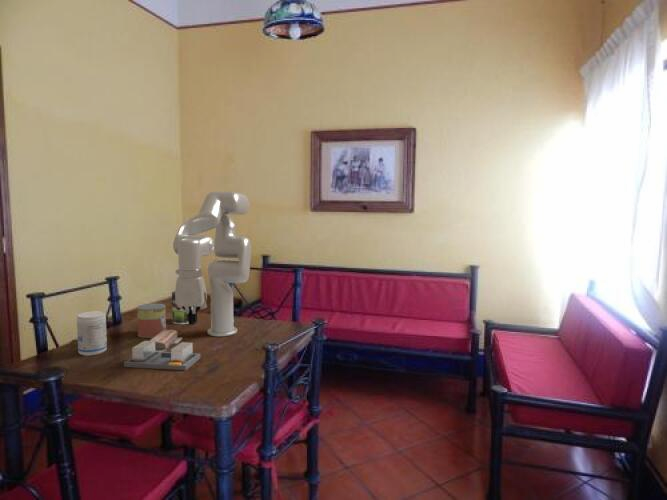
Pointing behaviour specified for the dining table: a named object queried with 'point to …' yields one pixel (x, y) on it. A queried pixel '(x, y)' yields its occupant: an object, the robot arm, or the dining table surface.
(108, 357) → the dining table surface
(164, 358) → the rack
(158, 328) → the canned food
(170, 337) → the packaged product
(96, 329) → the supplement tub
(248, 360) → the dining table surface
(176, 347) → the white rectangular block
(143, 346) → the panel seated
